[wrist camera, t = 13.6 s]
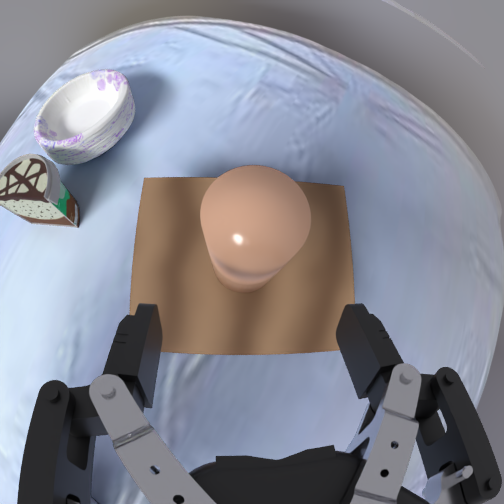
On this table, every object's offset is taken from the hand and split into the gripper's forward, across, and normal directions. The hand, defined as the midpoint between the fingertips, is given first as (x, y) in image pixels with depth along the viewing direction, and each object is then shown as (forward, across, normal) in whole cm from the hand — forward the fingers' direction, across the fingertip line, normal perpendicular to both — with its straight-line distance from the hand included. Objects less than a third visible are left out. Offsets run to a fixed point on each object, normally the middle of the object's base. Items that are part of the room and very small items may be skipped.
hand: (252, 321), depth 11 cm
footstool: (+18, -1, +10) cm, 20 cm away
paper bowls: (+33, +22, -4) cm, 40 cm away
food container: (+25, +25, +4) cm, 35 cm away
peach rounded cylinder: (+12, -1, +5) cm, 13 cm away
